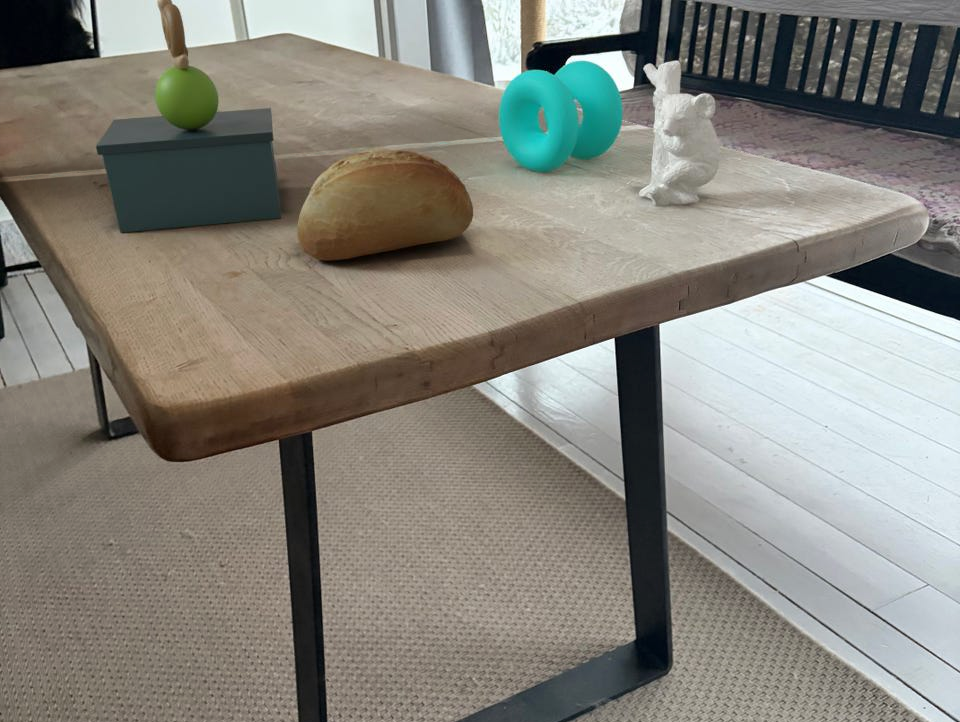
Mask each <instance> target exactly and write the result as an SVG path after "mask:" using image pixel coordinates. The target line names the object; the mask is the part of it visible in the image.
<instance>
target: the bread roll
mask: <svg viewBox="0 0 960 722" xmlns="http://www.w3.org/2000/svg"><path fill="white" fill-rule="evenodd" d="M471 199H472V198H471V196H470V194H469V192H468V190H467V188H466V185H465V184H464V183H463V182H462V181H461V179H460V177H459V176H458V175H457V174H456V173H454V171H452V170H451V169H450V168H449V167H448V166H447V165H446V164H444V163H442V162H440V161H439V160H437V159H436V158H433V157H430V156H427V155H424V154H421V153H417V152H414V151H409V150H399V149H379V150H371V151H365V152H361V153H356V154H354V155H351V156H348V157H345V158H343V159H340V160H339V161H336V162H334V163H333V164H331V165H330V166H329V167H328V168H327V169H325V170H324V171H323V172H321V174H320V175H319V176H318V177H317V179H315V181H314V183H313V185H312V186H311V187H310V190H309V192H308V195H307V197H306V199H305V201H304V203H303V205H302V207H301V210H300V212H299V215H298V221H297V224H296V229H297V232H296V234H297V241H298V244H299V245H300V246H301V251H302V252H304V253H305V254H307V255H308V256H310V257H311V258H313V259H316V260H320V261H338V260H349V259H353V258H357V257H362V256H369V255H373V254H378V253H384V252H390V251H394V250H400V249H404V248H410V247H415V246H418V245H424V244H425V245H426V244H429V243H430V244H431V243H436V242H437V243H439V242H444V241H445V242H446V241H449V240H452V239H455V238H457V237H459V236H462V234H463V233H465V231H467V229H468V228H470V225H471V223H472V222H473V218H474V207H473V202H472V200H471Z"/></svg>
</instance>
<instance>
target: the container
mask: <svg viewBox="0 0 960 722" xmlns="http://www.w3.org/2000/svg"><path fill="white" fill-rule="evenodd" d="M273 142H274V127H273V113H272V108H271V107H265V108H253V109H252V108H251V109H241V110H240V109H238V110H226V111H217V112H216V114H215V116H214V118H213V119H212V120H211V121H210V122H209V123H208V124H207V125H205V126H204V127H202V128H199V129H195V130H185V129H181V128H178V127H176V126H174V125H172V124H171V123H169V122H168V121H167V120H166V119H165V118H164V117H163V116H162V115H159V116H143V117H131V118H130V117H129V118H119V119H113V120H112V122H111V123H110V125H109V126H108V127H107V129H106V131H104V133H103V135H102V136H101V138H100V139H99V141H98V142H97V144H96V145H95V148H96V153H97V155H98V156H102V160H103V164H104V168H105V173H106V177H107V182H108V185H109V189H110V195H111V199H112V204H113V207H114V212H115V216H116V221H117V225H118V229H119V232H120V233H121V234H123V233H134V232H145V231H158V230H167V229H178V228H190V227H200V226H210V225H221V224H232V223H244V222H255V221H265V220H276V219H277V220H278V219H282V212H281V199H280V197H281V196H280V186H279V178H278V172H277V164H276V157H275V150H274V143H273Z"/></svg>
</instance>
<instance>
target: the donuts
mask: <svg viewBox="0 0 960 722" xmlns="http://www.w3.org/2000/svg"><path fill="white" fill-rule="evenodd" d="M576 102H578V104H579V105H580V107H581V111H582V119H581V122H580V119H579V112H578V108H577V104H576ZM541 108H542V110H543V116H544V122H545V126H546V129H547V132H545V131H544V130H543V129H542V127H541V124H540V120H539V113H540V110H541ZM623 112H624V111H623V101H622V97H621V94H620V90H619V88H618V85H617V83H616V82H615V80H614V79H613V77H612V76H611V74H610V73H609V72H608V71H607V70H606V69H604V68H603V67H602V66H601V65H599V64H597V63H595V62H592V61H588V60H576V61H571V62H569V63H566V64H565V65H563V66H562V67H561V68H559V69H558V70H557V72H555V73H554V74H553V73H551V72H549V71H547V70H542V69H529V70H526V71H523V72H521V73H519V74H517V75H516V76H515V77H514V78H513V79H511V80H510V82H509V83H508V85H507V86H506V87H505V89H504V91H503V93H502V96H501V99H500V103H499V109H498V124H499V125H498V126H499V131H500V135H501V139H502V141H503V144H504V146H505V148H506V150H507V151H508V153H509V155H510V156H511V157H512V158H513V159H514V160H515V162H516V163H517V164H519V165H520V166H521V167H523V168H524V169H527V170H528V171H531V172H535V173H536V172H537V173H548V172H551V171H554V170H556V169H558V168H559V167H561V166H562V165H563V164H565V163H566V162H567V160H568V159H569V158H570V157H571V158H574V159H578V160H591V159H595V158H598V157H600V156H602V155H603V154H605V153H606V152H607V151H609V150H610V148H611V147H612V146H613V145H614V143H615V141H616V140H617V138H618V136H619V134H620V132H621V127H622V124H623V114H624V113H623Z"/></svg>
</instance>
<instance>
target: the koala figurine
mask: <svg viewBox="0 0 960 722" xmlns="http://www.w3.org/2000/svg"><path fill="white" fill-rule="evenodd" d="M681 67H682V66H681V62H680V61H679V60H671V61H666V62H663V63H661V64H659V65H658V67H655V65H654V64H652V63H647V64H645V65H644V66H643V68H642V69H643V72H644V73H645V74H646V77H647V79H648V80H649V81H650V83H651V84H652V85H653V86H654V87H655V90H654V91H653V97H652V105H653V108H654V122H653V125H652V126H653V130H652V131H653V134H654V142H653V145H652V147H653V149H652V156H651V171H650V172H651V178H650V182H649V184H647V185H646V186H644V187H643V188H642V189H641V190H639V192H638V195H639V197H641V198H648V199H650V200H651V202H652V206H654V207H665V206H670V205H673V206H684V205H685V206H686V205H690V204H693V205H694V204H697V203H698V202H699V201H700V197H699V196H698V195H697V194H696V193H695V192H693V191H691V190H690V188H694V189H695V188H700V187H703V186H705V185H707V184H708V183H710V182H711V181H712V180H713V179H714V178H715V176H716V175H717V174H718V170H719V167H720V163H721V158H722V157H721V156H722V150H721V149H722V148H721V142H720V141H719V138H718V135H717V132H716V130H715V127H714V125H713V122H712V121H711V120H710V119H711V118H712V117H714V115H715V112H716V107H717V106H716V100H715V97H713V96H712V95H711V94H710V93H705V92H703V93H700V94H698V95H697V96H694V95H692V94H690V93H681V78H682V68H681Z"/></svg>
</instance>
